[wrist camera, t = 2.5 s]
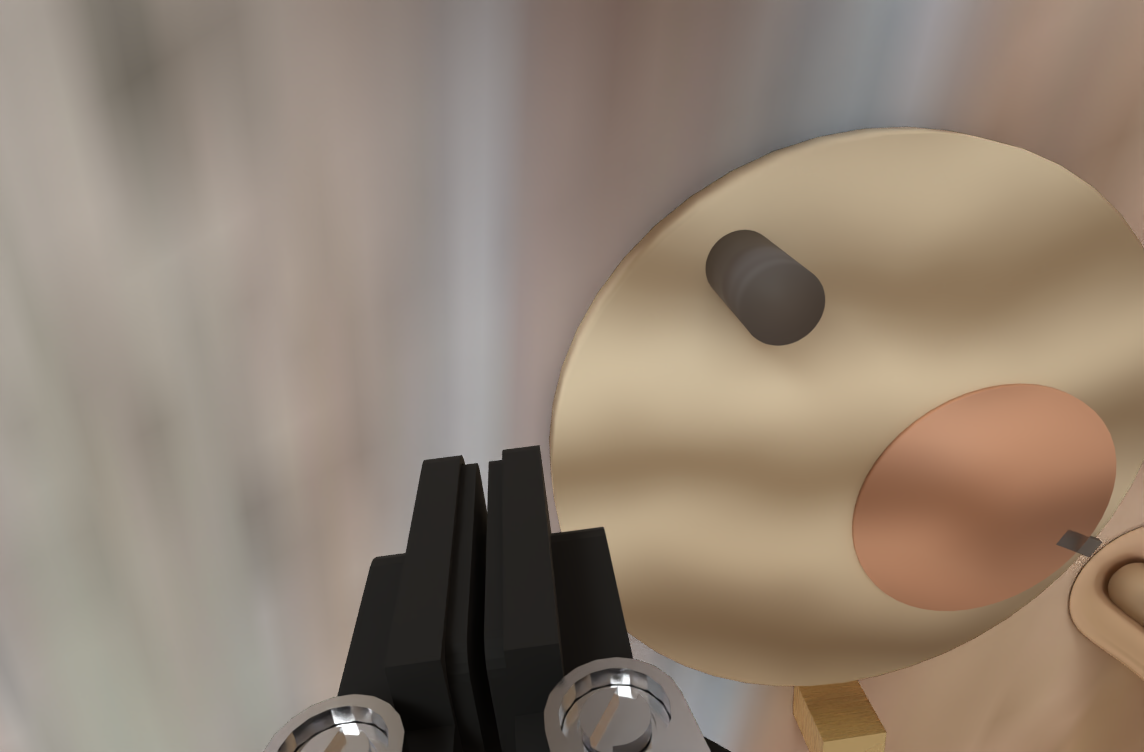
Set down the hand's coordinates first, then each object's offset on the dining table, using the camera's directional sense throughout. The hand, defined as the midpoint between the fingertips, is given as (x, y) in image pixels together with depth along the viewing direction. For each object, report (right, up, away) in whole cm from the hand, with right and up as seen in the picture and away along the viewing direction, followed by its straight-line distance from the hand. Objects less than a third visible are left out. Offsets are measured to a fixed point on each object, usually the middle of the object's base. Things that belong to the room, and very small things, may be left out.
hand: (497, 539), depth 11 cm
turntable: (+10, +1, +15) cm, 18 cm away
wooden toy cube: (+11, -11, +20) cm, 26 cm away
